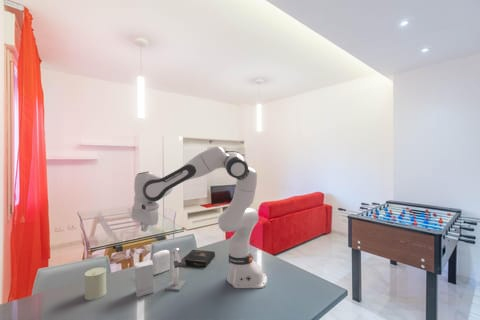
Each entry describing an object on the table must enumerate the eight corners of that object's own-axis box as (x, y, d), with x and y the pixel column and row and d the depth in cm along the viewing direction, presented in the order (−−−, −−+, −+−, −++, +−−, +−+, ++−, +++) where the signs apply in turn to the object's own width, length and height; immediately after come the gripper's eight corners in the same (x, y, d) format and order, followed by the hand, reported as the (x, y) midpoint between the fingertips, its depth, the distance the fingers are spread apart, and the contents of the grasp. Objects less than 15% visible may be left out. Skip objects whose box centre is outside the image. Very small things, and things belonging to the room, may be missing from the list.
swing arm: (170, 251, 120) (170, 247, 120) (179, 250, 122) (179, 246, 122) (174, 269, 100) (174, 264, 100) (186, 267, 102) (186, 262, 102)
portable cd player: (215, 257, 156) (214, 251, 156) (205, 268, 139) (205, 262, 139) (193, 254, 159) (193, 249, 159) (181, 265, 143) (181, 259, 143)
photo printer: (167, 267, 140) (167, 247, 140) (170, 269, 137) (170, 249, 137) (151, 273, 133) (151, 252, 133) (154, 276, 130) (154, 254, 130)
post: (185, 282, 122) (185, 250, 122) (179, 291, 114) (179, 257, 114) (172, 281, 124) (172, 249, 124) (164, 289, 116) (164, 255, 116)
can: (83, 302, 106) (83, 277, 106) (86, 292, 114) (85, 268, 114) (105, 296, 110) (105, 272, 110) (107, 287, 118) (106, 264, 118)
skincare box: (152, 287, 118) (152, 259, 118) (153, 293, 113) (153, 263, 113) (135, 291, 114) (135, 262, 114) (135, 298, 109) (135, 267, 109)
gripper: (128, 202, 118) (128, 228, 118) (148, 207, 105) (148, 236, 105) (139, 200, 123) (140, 225, 123) (160, 205, 110) (160, 233, 110)
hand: (144, 231), depth 114 cm, fingers closed
